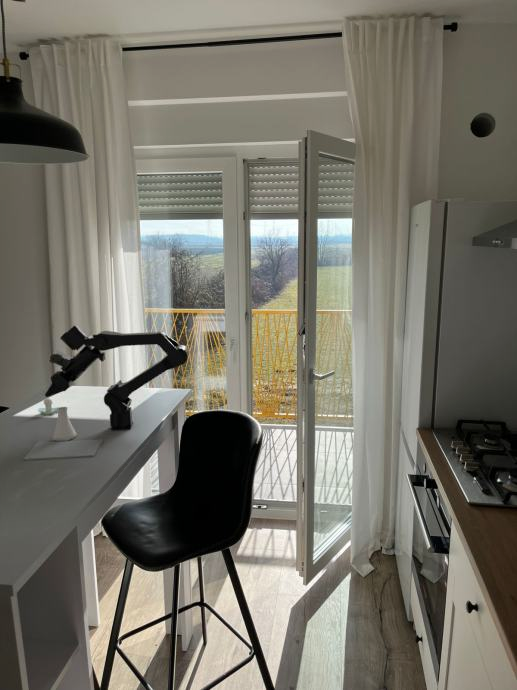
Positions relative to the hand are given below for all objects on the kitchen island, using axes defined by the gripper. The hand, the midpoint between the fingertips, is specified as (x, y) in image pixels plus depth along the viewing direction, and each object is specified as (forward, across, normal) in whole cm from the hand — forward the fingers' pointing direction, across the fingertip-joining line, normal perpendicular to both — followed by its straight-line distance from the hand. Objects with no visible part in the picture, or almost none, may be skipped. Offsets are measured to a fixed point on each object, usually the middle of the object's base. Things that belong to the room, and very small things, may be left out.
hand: (50, 391), depth 177 cm
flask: (+4, +9, +14) cm, 17 cm away
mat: (+2, +20, +16) cm, 25 cm away
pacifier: (+15, -19, +6) cm, 25 cm away
